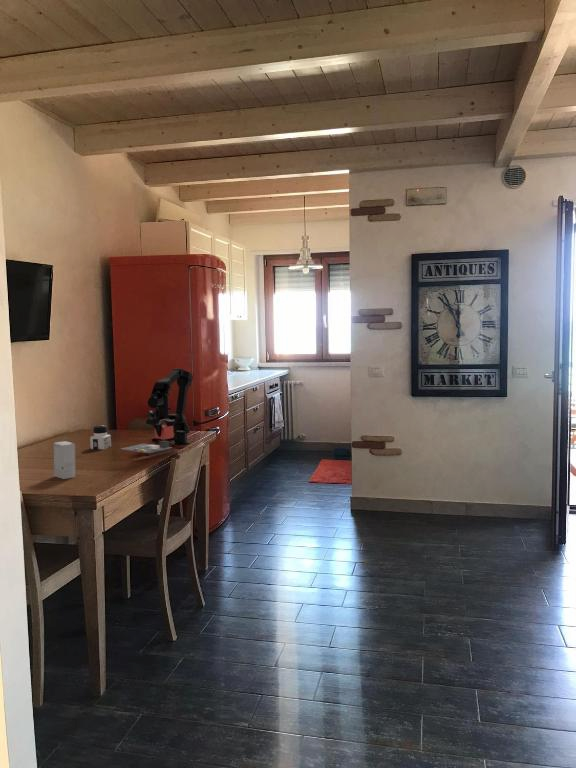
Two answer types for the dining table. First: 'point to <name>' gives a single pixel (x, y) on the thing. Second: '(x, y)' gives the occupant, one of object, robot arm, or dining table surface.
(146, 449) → the panel
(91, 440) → the container
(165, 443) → the gray box
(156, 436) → the cap
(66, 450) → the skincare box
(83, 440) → the dining table surface
